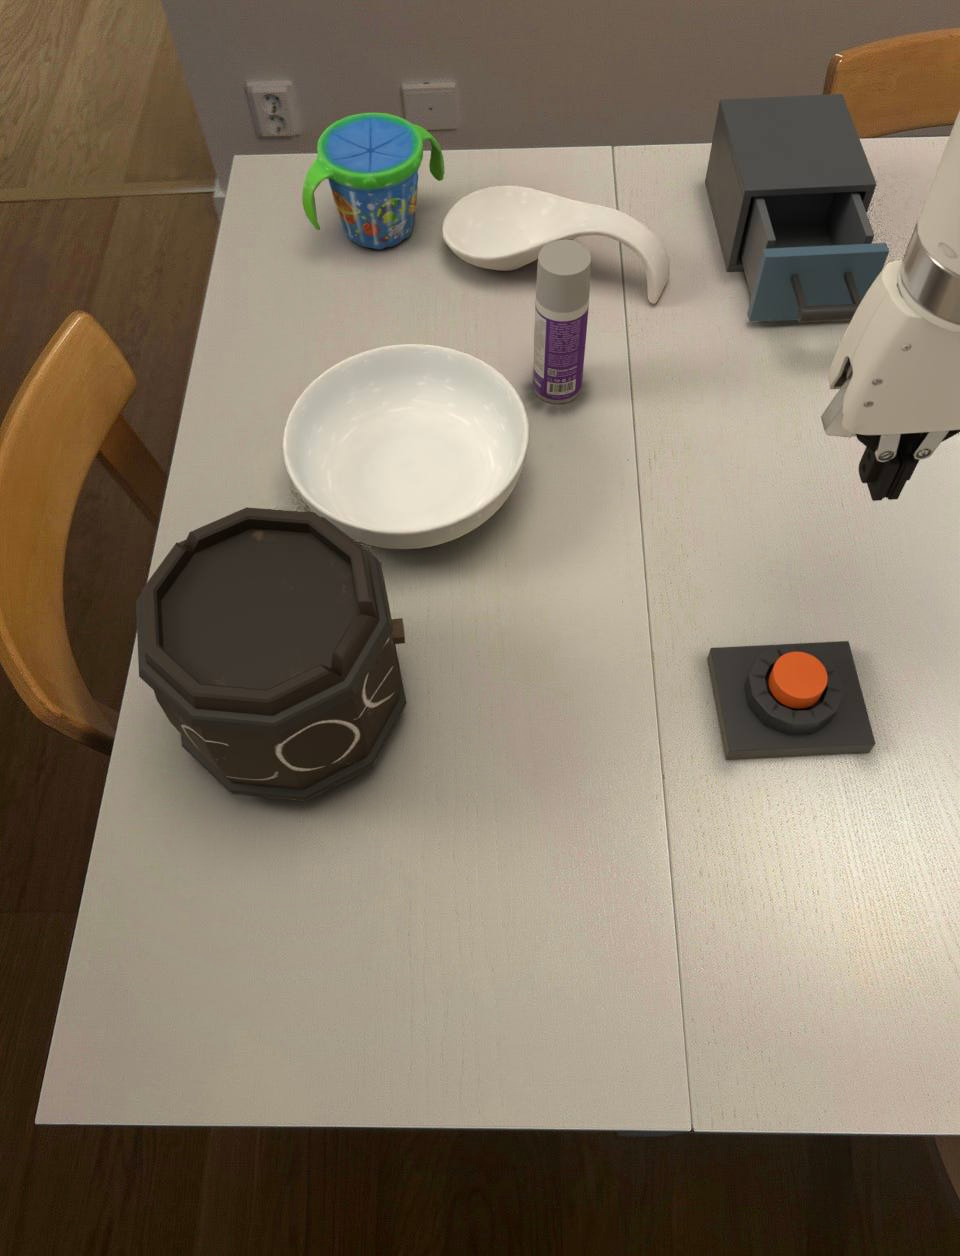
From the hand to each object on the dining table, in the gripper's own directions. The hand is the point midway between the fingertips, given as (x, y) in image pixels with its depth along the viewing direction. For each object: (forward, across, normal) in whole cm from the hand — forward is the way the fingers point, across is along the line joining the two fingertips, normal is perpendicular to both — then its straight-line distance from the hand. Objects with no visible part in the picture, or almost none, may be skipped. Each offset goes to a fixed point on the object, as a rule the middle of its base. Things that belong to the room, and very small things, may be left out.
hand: (879, 483), depth 72 cm
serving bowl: (+18, +33, -17) cm, 41 cm away
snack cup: (+18, +36, -52) cm, 65 cm away
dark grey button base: (+18, +4, +8) cm, 20 cm away
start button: (+15, +4, +7) cm, 17 cm away
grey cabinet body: (+19, -6, -49) cm, 53 cm away
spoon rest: (+18, +18, -45) cm, 51 cm away
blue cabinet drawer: (+18, -6, -38) cm, 42 cm away
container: (+18, +19, -28) cm, 38 cm away
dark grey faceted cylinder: (+17, +42, +5) cm, 46 cm away
